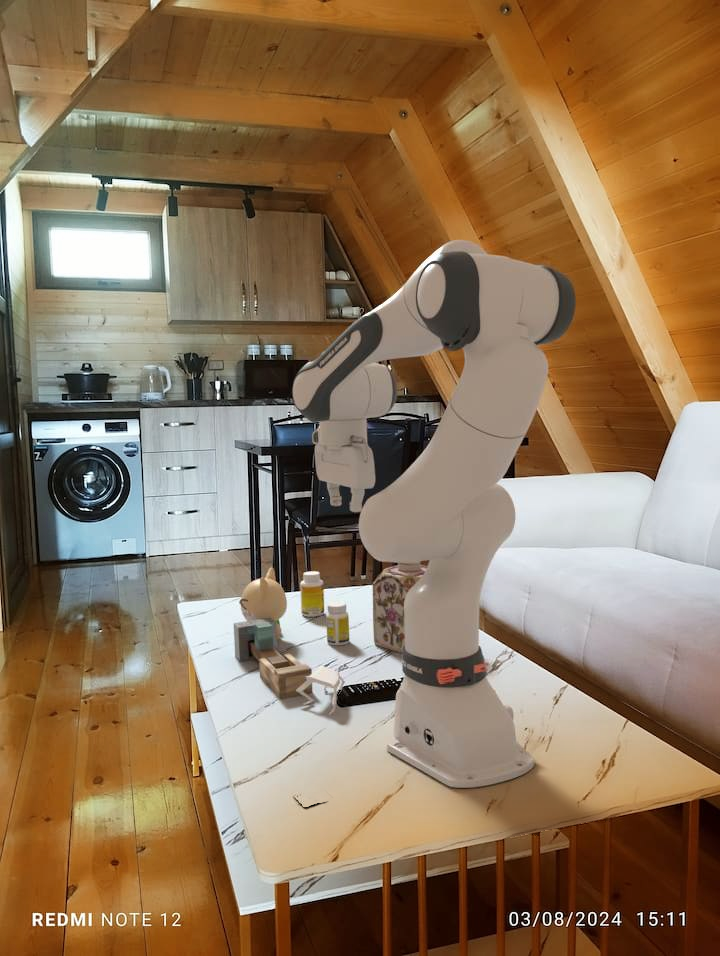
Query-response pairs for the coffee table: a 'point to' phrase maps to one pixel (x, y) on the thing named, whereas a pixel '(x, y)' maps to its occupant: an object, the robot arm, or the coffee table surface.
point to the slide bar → (265, 646)
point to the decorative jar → (393, 603)
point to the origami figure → (323, 683)
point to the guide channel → (285, 677)
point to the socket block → (250, 637)
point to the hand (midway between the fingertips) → (345, 508)
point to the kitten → (264, 600)
